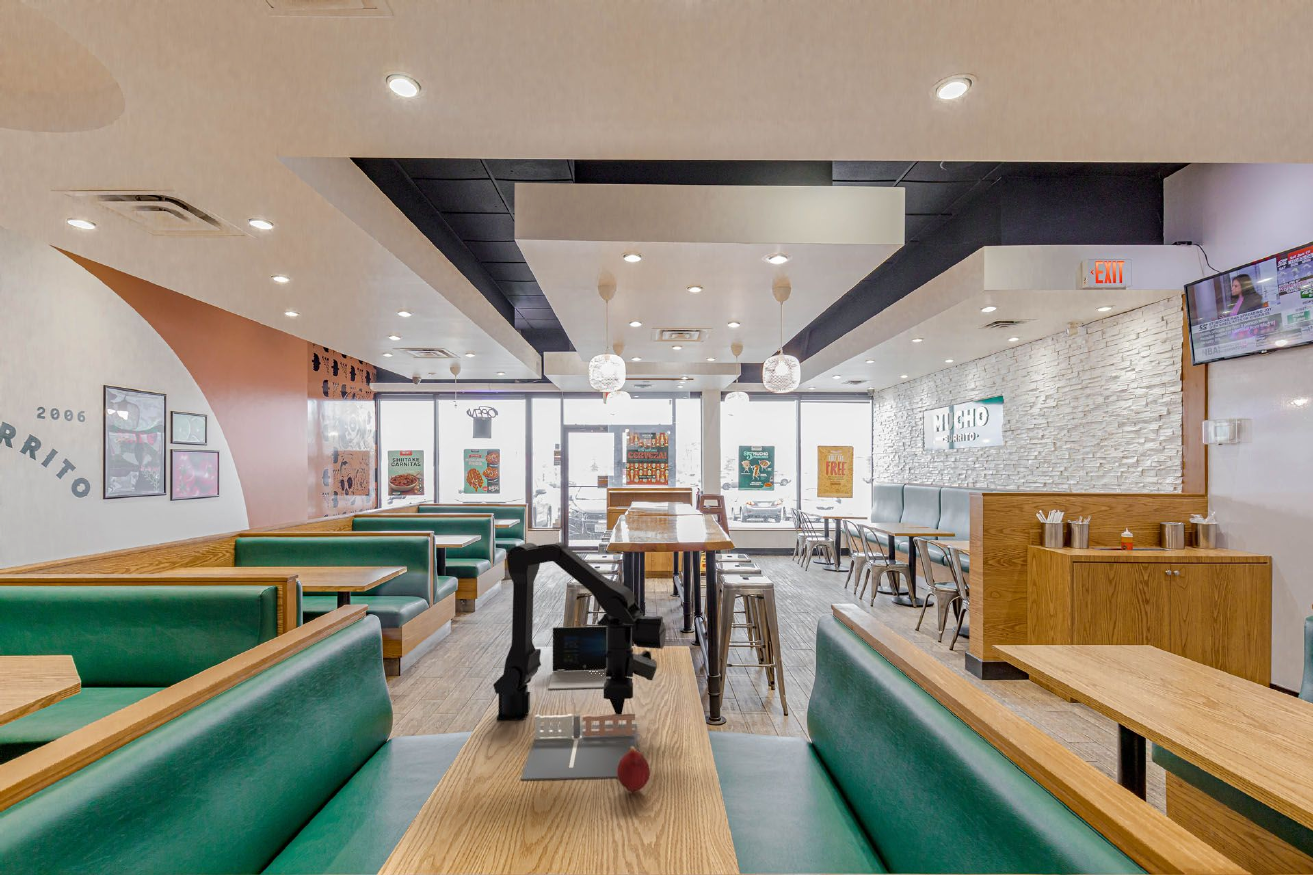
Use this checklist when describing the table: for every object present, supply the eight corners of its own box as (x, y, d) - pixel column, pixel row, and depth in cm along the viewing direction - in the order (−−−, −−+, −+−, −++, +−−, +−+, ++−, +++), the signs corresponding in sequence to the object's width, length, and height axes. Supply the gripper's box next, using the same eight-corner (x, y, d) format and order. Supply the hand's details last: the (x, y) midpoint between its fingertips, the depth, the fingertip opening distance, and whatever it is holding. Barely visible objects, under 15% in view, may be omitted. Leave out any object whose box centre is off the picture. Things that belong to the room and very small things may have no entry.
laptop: (548, 691, 154) (548, 640, 154) (552, 674, 166) (552, 627, 167) (617, 689, 155) (617, 638, 156) (616, 672, 168) (616, 625, 168)
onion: (654, 786, 108) (654, 742, 109) (643, 804, 103) (643, 757, 103) (624, 781, 110) (624, 737, 111) (612, 797, 105) (612, 751, 105)
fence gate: (573, 738, 126) (573, 717, 126) (573, 734, 128) (573, 714, 128) (635, 736, 127) (635, 715, 127) (635, 733, 128) (635, 712, 128)
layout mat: (520, 780, 111) (520, 778, 111) (538, 727, 132) (538, 725, 133) (638, 777, 112) (638, 775, 112) (637, 725, 134) (637, 723, 134)
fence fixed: (534, 739, 126) (535, 716, 126) (535, 737, 127) (535, 714, 127) (571, 738, 126) (571, 715, 127) (572, 736, 127) (572, 713, 128)
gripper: (656, 658, 125) (656, 733, 124) (653, 632, 143) (653, 698, 143) (603, 659, 124) (603, 734, 123) (607, 633, 143) (606, 698, 142)
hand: (619, 715), depth 133 cm, fingers closed
